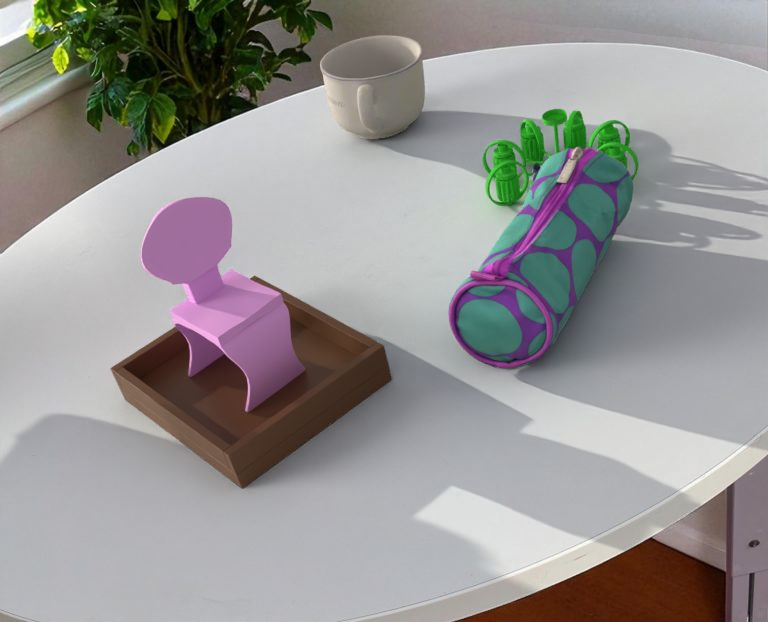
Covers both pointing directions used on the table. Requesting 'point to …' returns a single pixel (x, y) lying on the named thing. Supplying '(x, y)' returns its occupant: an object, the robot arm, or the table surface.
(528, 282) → the pencil case
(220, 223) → the toy chair
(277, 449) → the brown wooden tray
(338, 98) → the teacup
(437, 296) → the table surface
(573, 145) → the chandelier
